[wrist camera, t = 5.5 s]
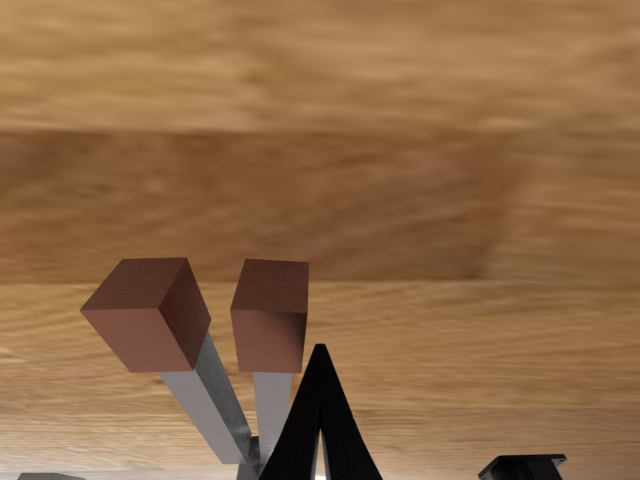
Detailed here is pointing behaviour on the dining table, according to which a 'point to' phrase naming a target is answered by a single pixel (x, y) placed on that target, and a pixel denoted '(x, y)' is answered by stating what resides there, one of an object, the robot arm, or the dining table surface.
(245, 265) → the tong arm
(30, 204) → the dining table surface
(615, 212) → the dining table surface
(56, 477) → the flask
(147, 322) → the tongs fixed
